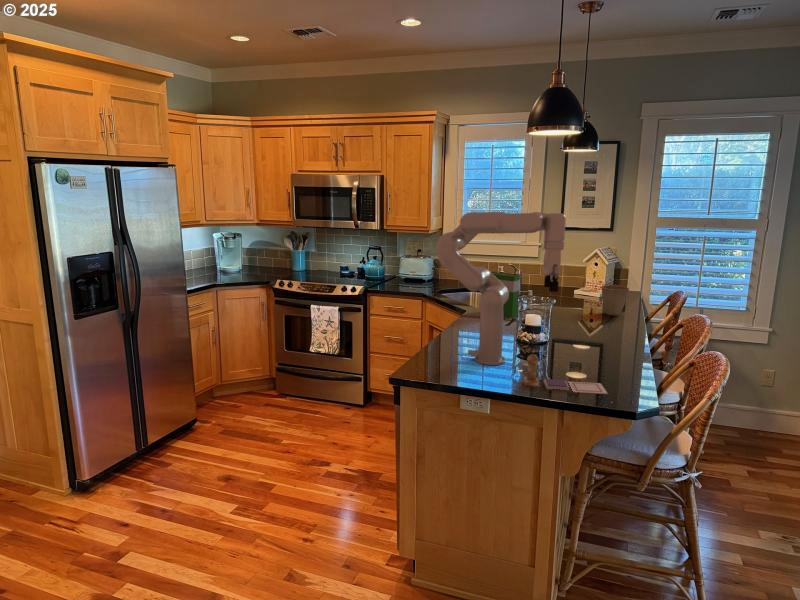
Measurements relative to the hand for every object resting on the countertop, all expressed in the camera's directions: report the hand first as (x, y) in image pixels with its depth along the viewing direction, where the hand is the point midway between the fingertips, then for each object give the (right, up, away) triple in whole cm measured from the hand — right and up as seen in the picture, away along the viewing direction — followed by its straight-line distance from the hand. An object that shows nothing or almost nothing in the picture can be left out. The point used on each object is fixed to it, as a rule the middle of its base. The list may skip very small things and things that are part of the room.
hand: (550, 289), depth 206 cm
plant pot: (+66, -13, +102) cm, 122 cm away
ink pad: (-2, -36, -12) cm, 38 cm away
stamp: (-11, -36, -11) cm, 39 cm away
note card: (+9, -36, -14) cm, 40 cm away
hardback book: (-1, -13, +97) cm, 98 cm away
